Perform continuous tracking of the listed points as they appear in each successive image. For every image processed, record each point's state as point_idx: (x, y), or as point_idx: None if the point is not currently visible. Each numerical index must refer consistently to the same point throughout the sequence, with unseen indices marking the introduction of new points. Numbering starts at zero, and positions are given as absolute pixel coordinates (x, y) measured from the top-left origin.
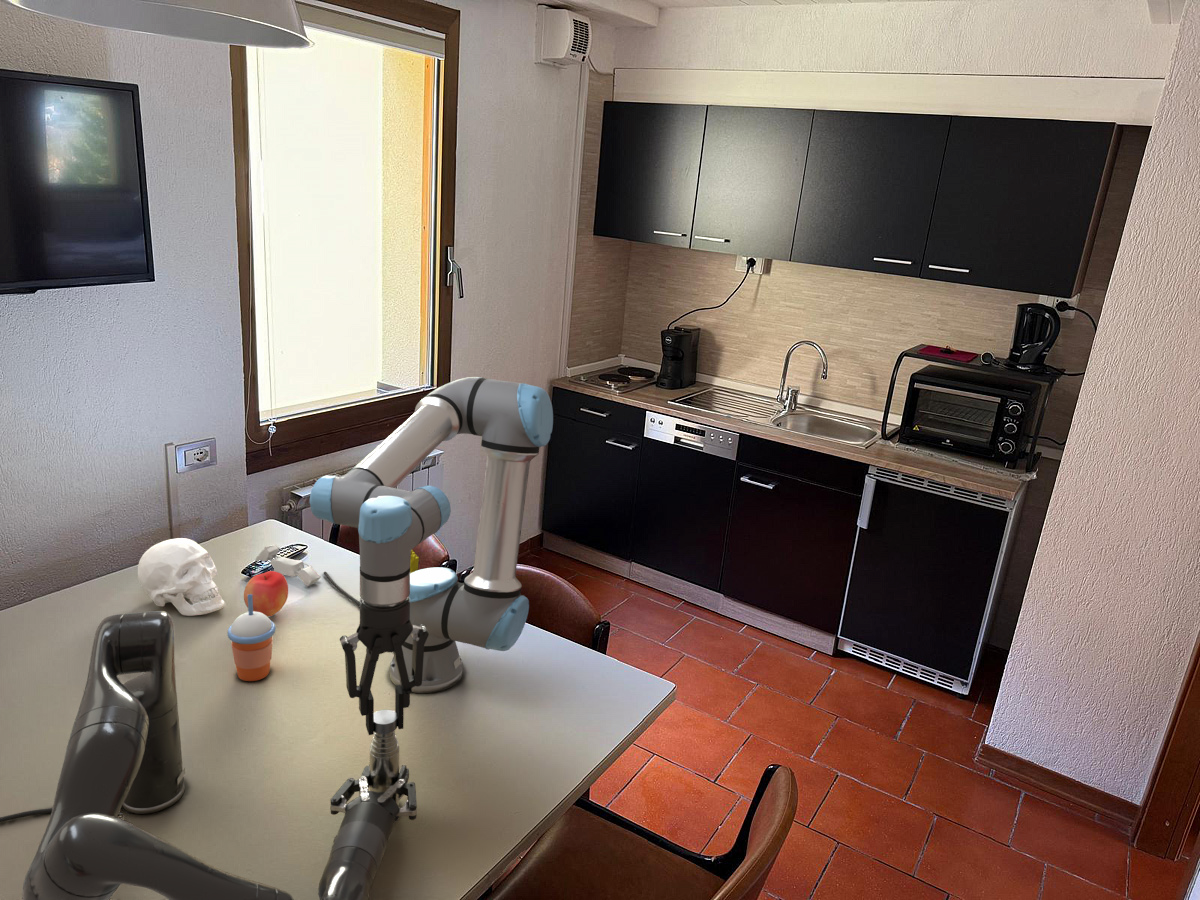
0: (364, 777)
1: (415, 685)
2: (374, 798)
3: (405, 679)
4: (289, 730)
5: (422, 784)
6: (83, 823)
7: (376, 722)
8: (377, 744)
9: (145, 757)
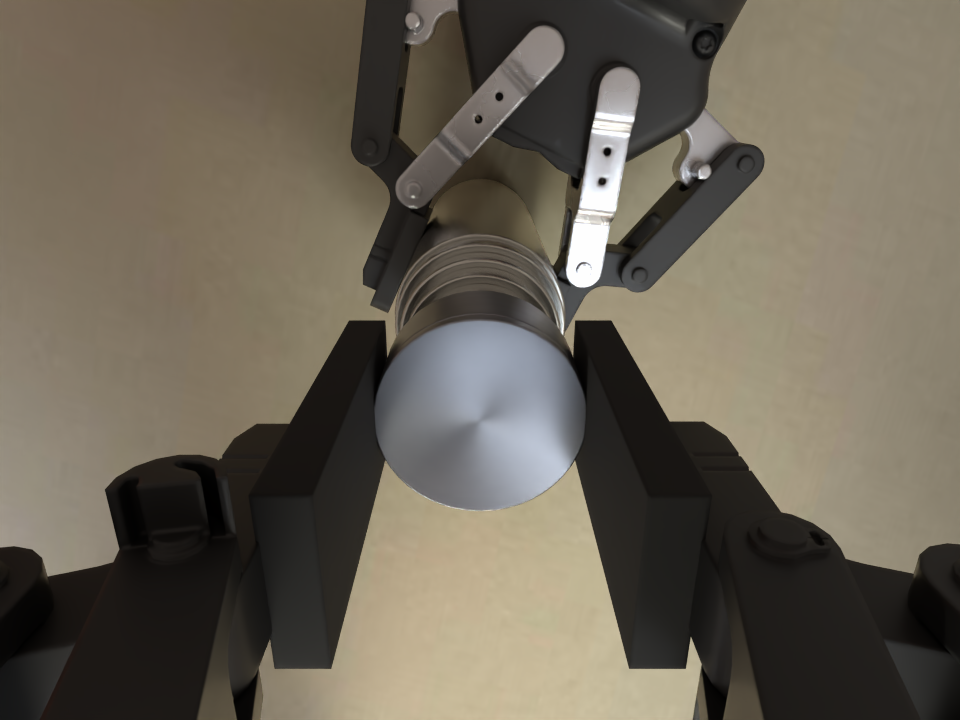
0: (575, 274)
1: (38, 565)
2: (565, 105)
3: (121, 672)
4: (683, 688)
5: (320, 325)
6: None
7: (563, 364)
8: (537, 296)
9: None
